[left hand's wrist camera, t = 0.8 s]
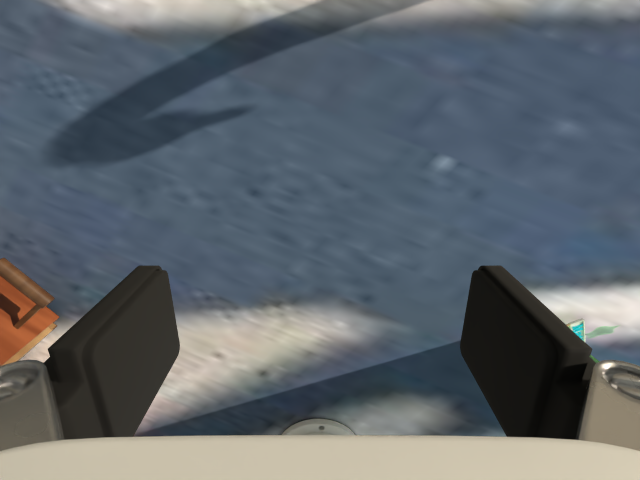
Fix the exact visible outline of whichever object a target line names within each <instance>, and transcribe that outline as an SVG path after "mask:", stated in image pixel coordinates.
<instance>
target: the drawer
mask: <svg viewBox="0 0 640 480" xmlns="http://www.w3.org/2000/svg"><path fill="white" fill-rule="evenodd" d="M54 299H55V298H54V297H53V296H51V295H50V294H49V293H48V292H46V291H45V290H44V289H43V288H41V287H40V286H39V285H38V284H36V283H35V282H34V281H33V280H31V279H30V278H29V277H28V276H26V275H25V274H24V273H23V272H21V271H20V270H19V269H18V268H16V267H15V266H14V265H13V264H11V263H10V262H9V261H8V260H6V259H5V258H2V259H0V366H2V365H3V364H5V363H6V362H7V361H8V360H9V359H11V358H12V357H13V356H14V355H15V354H17V353H18V352H19V351H20V350H21V349H22V348H24V347H25V346H26V345H27V344H28V343H30V342H31V341H32V340H33V339H34V338H36V337H37V336H38V335H39V334H40V333H42V332H43V331H44V330H45V329H46V328H48V327H49V326H50V325H51V324H52V323H53V322H55V321H56V320H57V319H58V318H59V316H58V315H56V314H55V313H54V312H53V311H51V310H50V309H49V308H47V307H46V306H47V305H48V304H50V303H51V302H52V301H53V300H54Z"/></svg>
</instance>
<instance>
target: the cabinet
mask: <svg viewBox="0 0 640 480" xmlns="http://www.w3.org/2000/svg"><path fill="white" fill-rule="evenodd" d="M56 327H57V325H55V324H54V323H52V324H51V325H50V326H49V327H48V328H46V329H45V330H44V331H43V332H42V333H40V334H39V335H38V336H37V337H36V338H34V339H33V340H32V341H31V342H30V343H28V344H27V345H26V346H25V347H24V348H22V349H21V350H20V351H19V352H18V353H17V354H15V355H14V356H13V357H12V358H11V359H9V360H8V361H7V362H6V363H5V364H9V363H13V362H16V361H19V360H20V359H21V358H22V357H23V356H24V355H25V354H27V353H28V352H29V351H30V350H31V349H32V348H33V347H34V346H36V345H37V344H38V343H39V342H40V341H41V340H42V339H43V338H45V337H46V336H47V335H48V334H49V333H50V332H51V331H52V330H53V329H55V328H56ZM5 364H3V365H5ZM3 365H2V366H3Z"/></svg>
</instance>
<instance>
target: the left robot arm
mask: <svg viewBox="0 0 640 480" xmlns="http://www.w3.org/2000/svg"><path fill="white" fill-rule="evenodd" d="M179 349H180V343H179V337H178V331H177V325H176V319H175V313H174V307H173V301H172V295H171V290H170V284H169V278H168V273H167V271H165V270H162V269H161V267H160V266H138V267H137V268H136V269H135V270H133V271H132V272H131V273H130V274H129V275H128V276H127V277H126V278H125V279H124V280H123V281H121V282H120V283H119V284H118V285H117V286H116V287H115V288H114V289H113V290H112V291H111V292H109V293H108V294H107V295H106V296H105V297H104V298H103V299H102V300H101V301H100V302H99V303H97V304H96V305H95V306H94V307H93V308H92V309H91V310H90V311H89V312H88V313H87V314H85V315H84V316H83V317H82V318H81V319H80V320H79V321H78V322H77V323H76V324H75V325H73V326H72V327H71V328H70V329H69V330H68V331H67V332H66V333H65V334H64V335H63V336H61V337H60V338H59V339H58V340H57V341H56V342H55V343H54V344H53V345H52V346H51V347H49V348H48V351H49V354H50V357H49V358H48V359H47V360H46V361H45V362H44V363H42V362H40V361H37V360H23V361H16V362H13V363H9V364H5V365H3V366H0V480H640V366H637V365H635V364H631V363H627V362H624V361H617V360H603V361H600V362H598V363H596V362H595V361H594V360H593V359H592V358H591V357H590V354H591V351H592V348H591V347H589V346H588V345H587V344H586V343H585V342H584V341H583V340H582V339H581V338H580V337H579V336H577V335H576V334H575V333H574V332H573V331H572V330H571V329H570V328H569V327H568V326H567V325H565V324H564V323H563V322H562V321H561V320H560V319H559V318H558V317H557V316H556V315H555V314H553V313H552V312H551V311H550V310H549V309H548V308H547V307H546V306H545V305H544V304H543V303H541V302H540V301H539V300H538V299H537V298H536V297H535V296H534V295H533V294H532V293H531V292H529V291H528V290H527V289H526V288H525V287H524V286H523V285H522V284H521V283H520V282H519V281H517V280H516V279H515V278H514V277H513V276H512V275H511V274H510V273H509V272H508V271H507V270H505V269H504V268H503V267H502V266H480V267H479V269H478V270H475V271H473V273H472V278H471V284H470V290H469V295H468V301H467V307H466V313H465V319H464V325H463V331H462V337H461V343H460V349H461V354H462V356H463V358H464V360H465V362H466V364H467V365H468V367H469V369H470V371H471V373H472V374H473V376H474V378H475V380H476V382H477V383H478V385H479V387H480V389H481V391H482V392H483V394H484V396H485V398H486V400H487V401H488V403H489V405H490V407H491V409H492V410H493V412H494V414H495V416H496V418H497V419H498V421H499V423H500V425H501V427H502V428H503V430H504V432H505V434H506V436H507V437H486V436H407V435H355V434H354V433H353V432H352V431H351V430H350V429H349V428H347V427H346V426H344V425H343V424H340V423H338V422H336V421H332V420H328V419H309V420H304V421H301V422H298V423H296V424H294V425H292V426H290V427H289V428H288V429H286V430H285V431H284V432H283V434H282V435H233V436H154V437H133V436H134V434H135V432H136V430H137V428H138V427H139V425H140V423H141V421H142V419H143V418H144V416H145V414H146V412H147V410H148V409H149V407H150V405H151V403H152V401H153V400H154V398H155V396H156V394H157V392H158V391H159V389H160V387H161V385H162V383H163V382H164V380H165V378H166V376H167V374H168V373H169V371H170V369H171V367H172V365H173V364H174V362H175V360H176V358H177V356H178V354H179Z"/></svg>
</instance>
